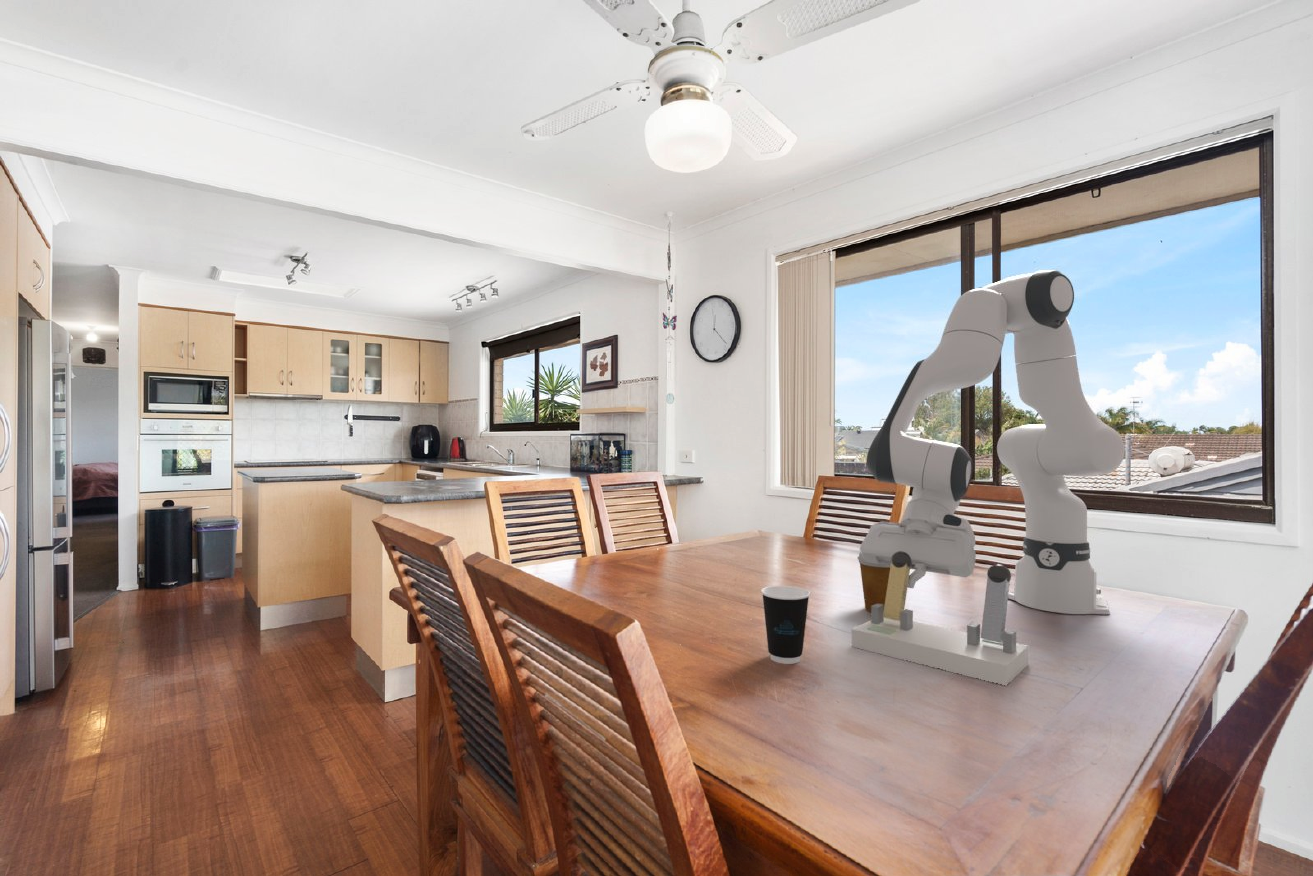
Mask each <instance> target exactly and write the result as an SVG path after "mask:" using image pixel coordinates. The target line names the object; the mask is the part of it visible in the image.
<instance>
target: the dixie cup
mask: <svg viewBox="0 0 1313 876" xmlns="http://www.w3.org/2000/svg"><path fill="white" fill-rule="evenodd" d="M760 593H761V595H762V601H763V602H762V603H763V611H764V620H765V633H766V641H767V651H768V653H769V658H770V660H771V661H773V662H775V663H777V664H782V665H792V664H798V663H799V662H800V661H801V657H802V655H803V650H804V642H805V633H806V624H807V623H806V622H807V614H808V606H809V599H810V598H809V597H811V592H810V590H808V589H806V588H802V587H799V586H793V585H792V586H791V585H770V586H769V585H768V586H766V587H763V588H761V589H760Z"/></svg>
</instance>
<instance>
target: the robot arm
mask: <svg viewBox="0 0 1313 876" xmlns="http://www.w3.org/2000/svg"><path fill="white" fill-rule="evenodd" d="M1074 300H1075V290H1074V287H1073V284H1072V282H1071V280H1070V279H1069V277H1068V276H1066V275H1065V273H1063V272H1061V271H1060V270H1057V269H1056V270H1055V269H1047V270H1045V269H1043V270H1037V271H1035V272H1033V273H1027V274H1025V273H1024V274H1019V275H1016V276H1011V277H1007V278H1005V279H1003V280H999V281H997V282H994V283H991V284H988V285H986V286H982V287H977V288H975V289H971V290H968V291H966V292H964V293H963V294H962V295H960V296H959V298H958V299H957V300H956V302H955V304H954V306H953V307H952V310H951V312H950V314H949V317H948V319H947V321H946V323H945V326H944V329H943V332H942V335H941V339H940V341H939V344H937V345H938V346H937V347H936V349H935V350H934V351H933V352H932V353H931V354H930V355H929V356H927V357H926V358H925V359H921V360H919V361H917V362H916V363H915V365H914V366H913V367H912V369H911V370H910V372H909V374H908V375H907V376H906V377H907V378H906V379H905V381H904V383H903V385H902V387H901V388H900V390H899V393H898V394H897V397H896V399H895V401H894V402H893V405H892V406H891V408H890V411H889V412H888V415H887V416H886V419H885V420H884V422H883V424H882V426H881V428H880V429H879V431H878V432H877V433H876V435H875V437H874V438H873V440H872V442H871V444H870V446H869V448H868V450H867V453H866V459H865V460H866V461H865V462H866V468H867V469H868V471H869V472H870V473H871V476H873V477H874V479H876V480H877V481H878V482H881V483H887V484H895V485H897V484H899V485H902V486H903V485H904V486H907V487H911V488H913V489H912V493H911V499H910V500H909V501H908V503H907V504H906V507H905V509H904V512H903V515H902V517H901V519H900V522H887V521H879V522H877V523H874V524H871V526H870V527H869V530H868V532H867V534H865V535H866V536H865V537H864V538H863V541H862V542H861V544H860V547H859V553H860V552H861V554H862V556H863V558H864V559H865V561H866V562H869V563H875V564H882V565H888V566H891V558H892V556H893V554H894V553H896V552H898V551H903V552H906V553H907V554H908V555H909V556H910V557H911V565H910V570H913V571H912V572H911V573H909V580H908V587H907V589H914V588H915V585H916V583H917V582H919V581H920V580H921V579H922V578H923V577H925V575H926V574H927V573H934V574H941V575H947V576H948V575H949V576H952V577H953V576H954V577H959V578H967V577H969V576H971V575H973V572H974V570H975V569H974V568H975V564H976V558H977V557H976V556H977V555H976V551H975V548H974V547H975V546H976V536H975V533H974V530H973V528H972V525H971V524H970V522H969V520H967V518H963V517H961V516H958V515H955V512H956V511H957V509H958V508H959V506H960V502H961V500H962V499H963V498H964V497H965V496H967V492H968V489H969V486H970V483H971V481H972V480H971V479H972V476H973V473H974V472H973V471H974V461H973V459H972V458H971V456H970V454H969V452H967V450H966V449H965V448H964V447H963V446H962V445H959V444H955V443H952V442H946V441H940V440H932V439H927V438H922V437H918V436H917V437H916V436H911V435H907V434H906V432H907V431H908V428H909V426H910V425H911V422H912V421H913V419H914V417H915V415H916V413H917V411H918V409H919V406H920V405H921V403H922V402H923V401H924V400H926V399H927V398H929V397H931V396H933V395H936V394H939V393H942V392H943V393H944V392H947V391H954V390H960V389H966V388H970V387H972V386H975V385H977V384H979V383H982V382H983V381H985V380H987V379H988V378H989V377H990V376H991V375H992V374H993V373H994V371H995V370H996V367H997V365H998V363H999V360H1000V357H1001V353H1002V349H1003V346H1004V342H1005V338H1006V334H1013V335H1014V338H1013V339H1014V341H1013V343H1014V344H1013V345H1014V346H1013V347H1014V348H1013V349H1014V352H1013V353H1014V363H1015V373H1016V380H1017V387H1018V388H1017V389H1018V394H1019V397H1020V400H1021V401H1022V403H1024V404H1025V405H1026V406H1028V407H1031V408H1032V409H1034V411H1036V412H1037V414H1038V415H1039V416H1040V417H1041V420H1042V422H1043V424H1042V423H1040V424H1039V423H1038V424H1035V423H1033V424H1030V423H1029V424H1024V425H1020V426H1016V427H1012V428H1009V429H1006V430H1005V431H1003V433H1002V434H1001V435H1000V436H999V438H998V441H997V446H996V452H997V456H998V459H999V462H1001V464H1002V465H1003V466H1004V467H1006V468H1007V470H1009V471H1010V472H1011V474H1012V475H1013V476H1014V478H1015V480H1016V482H1017V484H1018V486H1019V488H1020V491H1021V493H1022V498H1023V502H1024V508H1025V509H1024V512H1025V513H1024V514H1025V537H1023V541H1022V548H1023V549H1022V550H1023V551H1022V552H1023V553H1022V554H1024V555H1023V557H1022V558H1020V559H1019V560H1017V561H1016V562H1015V569H1014V570H1015V571H1014V588H1013V590H1012V591H1009V594H1008V600H1013V601H1016V602H1017V603H1019V604H1020V605H1023V606H1025V607H1028V608H1031V609H1035V610H1041V611H1046V612H1052V613H1059V614H1070V615H1093V614H1094V615H1110V608H1109V603H1108V601H1107V597H1106V595H1104V594H1101V593H1102V592H1101V591H1102V590H1101V588H1099V587H1097V571H1095V569H1094V568H1093V566H1092V565H1091V563H1090V560H1089V559H1091V548H1090V543H1089V542H1088V509H1087V505H1086V504H1085V502H1084V501H1083V500H1082V499H1081V498H1080V497H1078V495H1076V494H1074V493H1073V491H1071V489H1069V487H1068V485H1067V483H1066V480H1065V477H1066V476H1067V477H1068V476H1069V477H1081V478H1082V477H1085V478H1087V477H1096V476H1102V475H1108V474H1112V473H1113V472H1115V471H1116V470H1117V469H1118V468H1119V467H1120V466H1121V464H1122V462H1123V460H1124V457H1125V451H1126V449H1125V443H1124V439H1123V438H1122V436H1121V434H1119V433H1118V431H1117V430H1116V429H1114V428H1113V427H1111V426H1110V425H1108V424H1106V423H1105V422H1104V421H1102V420H1101V419H1100V418H1099V417H1098V415H1096V413H1095V412H1094V410H1093V409H1092V408H1091V407H1090V405H1089V403H1088V401H1087V399H1086V398H1085V395H1084V393H1083V389H1082V384H1081V379H1080V374H1079V368H1078V360H1077V352H1076V344H1075V340H1074V337H1073V332H1072V330H1071V326H1070V322H1069V320H1068V318H1067V317H1068V316H1069V314H1070V313H1071V310H1072V309H1073V306H1074V305H1073V304H1074V303H1075V301H1074Z"/></svg>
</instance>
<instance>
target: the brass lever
mask: <svg viewBox="0 0 1313 876" xmlns="http://www.w3.org/2000/svg"><path fill="white" fill-rule="evenodd" d="M910 565H911V557H910V556H909V555H908V554H907V553H906V552H903V551H898V552H896V553H894V554H893V556H892V558H891V566H890V573H889V580H888V586H887V593H886V599H885V606H884V612H883V617H884V618H886V619H891V620H895V621H900V612H901V611H903V610H905V607H906V599H907V592H908V588H907V587H908V580H909V575H910V574H911V573H910V571H911V569H910Z"/></svg>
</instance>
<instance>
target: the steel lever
mask: <svg viewBox="0 0 1313 876" xmlns="http://www.w3.org/2000/svg"><path fill="white" fill-rule="evenodd" d="M986 575H987V580H986V586H985V587H986V588H985V596H984V597H985V598H984V605H983V606H984V607H983V613H982V614H983V615H982V622H981V630H980V636H981V638H982V639H984V640H989V641H994V642H999V643H1003V632H1005V631H1006V630H1005V629H1006V622H1007V611H1008V601H1009V598H1008V594H1009V592H1010V584H1011V579H1012V573H1011V570H1010V569H1009V567H1008V566H1005V565H1003V564H999V563H997V564H992V565H991V566H990V567H988V569H987V572H986Z"/></svg>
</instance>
